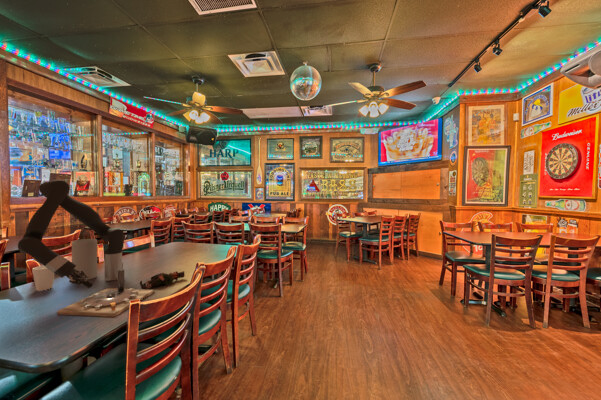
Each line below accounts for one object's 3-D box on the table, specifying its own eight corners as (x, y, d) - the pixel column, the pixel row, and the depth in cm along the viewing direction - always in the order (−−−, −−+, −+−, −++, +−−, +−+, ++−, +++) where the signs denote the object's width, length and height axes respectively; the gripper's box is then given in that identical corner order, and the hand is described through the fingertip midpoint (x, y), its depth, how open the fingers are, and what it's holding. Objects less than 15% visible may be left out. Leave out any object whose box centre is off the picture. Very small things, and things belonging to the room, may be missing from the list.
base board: (107, 290, 141) (107, 285, 141) (154, 292, 139) (154, 287, 139) (57, 314, 113) (57, 307, 113) (114, 316, 111) (114, 310, 111)
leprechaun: (137, 283, 147) (177, 269, 167) (142, 298, 145) (182, 282, 165) (142, 277, 141) (184, 263, 161) (147, 293, 139) (189, 277, 159)
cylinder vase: (82, 282, 153) (82, 243, 153) (66, 280, 155) (66, 242, 155) (102, 275, 166) (102, 239, 165) (86, 274, 167) (86, 238, 167)
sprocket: (131, 286, 143) (131, 266, 142) (143, 298, 127) (143, 275, 127) (77, 299, 125) (77, 275, 125) (83, 314, 109) (83, 288, 109)
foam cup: (28, 293, 135) (28, 270, 135) (37, 287, 144) (37, 265, 143) (52, 290, 140) (51, 268, 139) (58, 285, 148) (58, 263, 148)
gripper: (62, 263, 119) (94, 284, 124) (72, 257, 130) (101, 276, 136) (47, 276, 116) (80, 296, 122) (59, 268, 128) (89, 287, 134)
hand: (91, 286), depth 129 cm, fingers closed
